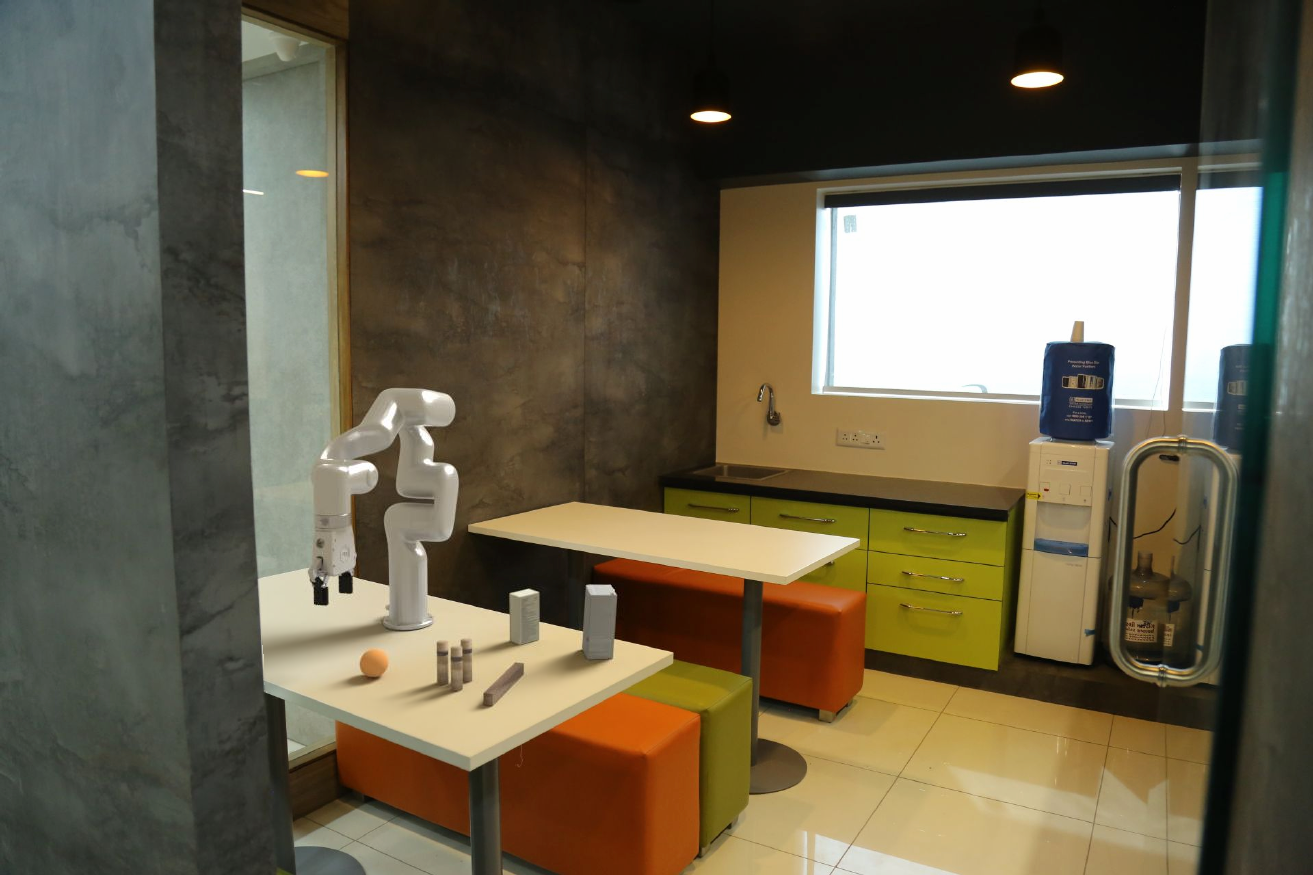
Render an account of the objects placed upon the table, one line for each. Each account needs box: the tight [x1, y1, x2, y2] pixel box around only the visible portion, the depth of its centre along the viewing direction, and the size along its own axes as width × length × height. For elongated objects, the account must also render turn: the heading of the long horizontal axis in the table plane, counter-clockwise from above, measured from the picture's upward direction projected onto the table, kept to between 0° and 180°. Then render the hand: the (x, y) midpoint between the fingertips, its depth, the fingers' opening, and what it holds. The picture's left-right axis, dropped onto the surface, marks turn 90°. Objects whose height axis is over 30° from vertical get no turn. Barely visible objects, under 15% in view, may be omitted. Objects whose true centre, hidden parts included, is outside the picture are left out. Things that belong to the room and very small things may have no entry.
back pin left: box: [460, 637, 473, 684], centre depth 189 cm, size 2×2×9 cm
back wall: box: [482, 662, 525, 707], centre depth 185 cm, size 2×18×2 cm, turn 168°
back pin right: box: [450, 645, 464, 692], centre depth 184 cm, size 2×2×9 cm
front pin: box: [436, 639, 450, 686], centre depth 188 cm, size 2×2×9 cm
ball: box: [359, 648, 389, 678], centre depth 191 cm, size 6×6×6 cm
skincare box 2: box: [581, 584, 618, 660], centre depth 207 cm, size 8×7×16 cm
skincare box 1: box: [508, 588, 540, 646], centre depth 216 cm, size 6×4×12 cm
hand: (333, 598), depth 191 cm, fingers open, 9 cm apart
